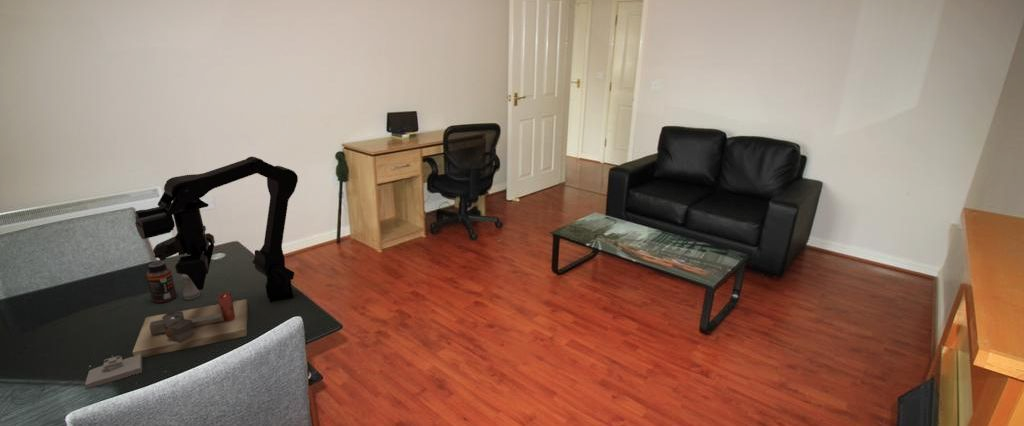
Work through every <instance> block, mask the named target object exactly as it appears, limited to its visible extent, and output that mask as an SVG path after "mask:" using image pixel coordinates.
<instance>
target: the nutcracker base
mask: <svg viewBox="0 0 1024 426" xmlns="http://www.w3.org/2000/svg"><path fill="white" fill-rule="evenodd" d="M232 302H233V307H234V313H235V318H234V319H232V320H229V321H219V322H214V323H208V324H203V325H198V326H193V324H192V320H188V319H194V318H199V317H204V316H210V315H215V314H220V313H221V310H220V305H219V303H217V304H211V305H207V306H201V307H197V308H196V307H195V308H190V309H185V310H180V311H181V312H183V315H184V319H183V320H181V321H180V322H178V323H176V324H175V325H173V326H171V327H169V328H168V329H167V330H166V332H164V333H159V334H153V335H151V331H150V327H149V326H150V323H151V322H153V321H158V320H163V319H162V318H163V316H164V315H166V314H168V313H169V312H168V313H164V314H163V313H161V314H157V315H156V314H155V315H151V316H145V319H144V321H143V324H142V326H141V329H140V331H139V334H138V337H137V339H136V342H135V345H134V347H133V350H132V355H133V356H136V355H138V354H141V356H142V359H143V358H146V357H151V356H157V355H162V354H167V353H171V352H175V351H179V350H180V351H181V350H186V349H191V348H195V347H201V346H204V345H210V344H213V343H220V342H224V341H228V340H233V339H238V338H242V337H247V336H248V335H247V334H248V311H249V310H248V309H249V305H248V299H240V300H235V301H232ZM133 356H132V357H133Z"/></svg>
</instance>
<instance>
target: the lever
mask: <svg viewBox="0 0 1024 426" xmlns="http://www.w3.org/2000/svg"><path fill="white" fill-rule="evenodd" d="M217 298H218V304H219V305H220V310H221V313H220V314H215V315H210V316H204V317H199V318H194V319H188V320H192V324H193V326H198V325H203V324H208V323H214V322H219V321H229V320H232V319H234V318H235V313H234V307H233V302H234V301H233V299H232V298H233V297H232V294H231V292H230V291H224V292H220V293H219V294H217ZM181 311H182V310H178V311H177V310H176V311H175V310H174V311H171V312H168V314H167V313H165V314H166V315H164V316H163V318H162V319H163V320H158V321H153V322H151V323H150V326H149V327H150V331H151V335H153V334H159V333H164V332H166V330H167V329H168V328H169V327H171V326H173V325H175V324H176V323H178V322H180V321H181V320H183V319H184V315H183V312H181Z"/></svg>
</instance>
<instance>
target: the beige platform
mask: <svg viewBox="0 0 1024 426" xmlns="http://www.w3.org/2000/svg"><path fill="white" fill-rule="evenodd" d="M139 373H140V374H143V358H142V356H141V354H138V355H136V356H131V357H127V358H124V359H123V357H122V356H120V355H117V356H114V355H113V354H112V355H111V357H109V358H106V359H104V360H103V364H101V365H100V366H98V367H94V368H92V369H90V370H89V371H88V374H87V377H86V379H85V389H86V390H88V389H91V388H95V387H99V386H102V385H105V384H109V383H113V382H115V381H119V380H122V378H123V379H126V378H129V377H128V376H130V377H132V376H131V375H133V376H135V375H134V374H136V375H139ZM125 377H126V378H125Z"/></svg>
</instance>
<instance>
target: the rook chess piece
mask: <svg viewBox="0 0 1024 426" xmlns="http://www.w3.org/2000/svg"><path fill="white" fill-rule="evenodd" d="M180 275H181V276H180V278H181V279H182V283H183V287H184V288H183V292H182V298H183V300H185V301H192V300H196V299H197V298H199V297H200V296H201V292H200V290H198V289H197V288H196V286H195V285H194V283H193V282H192V280H191V279H190V277H189V276H188V275H185V274H180Z"/></svg>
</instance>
